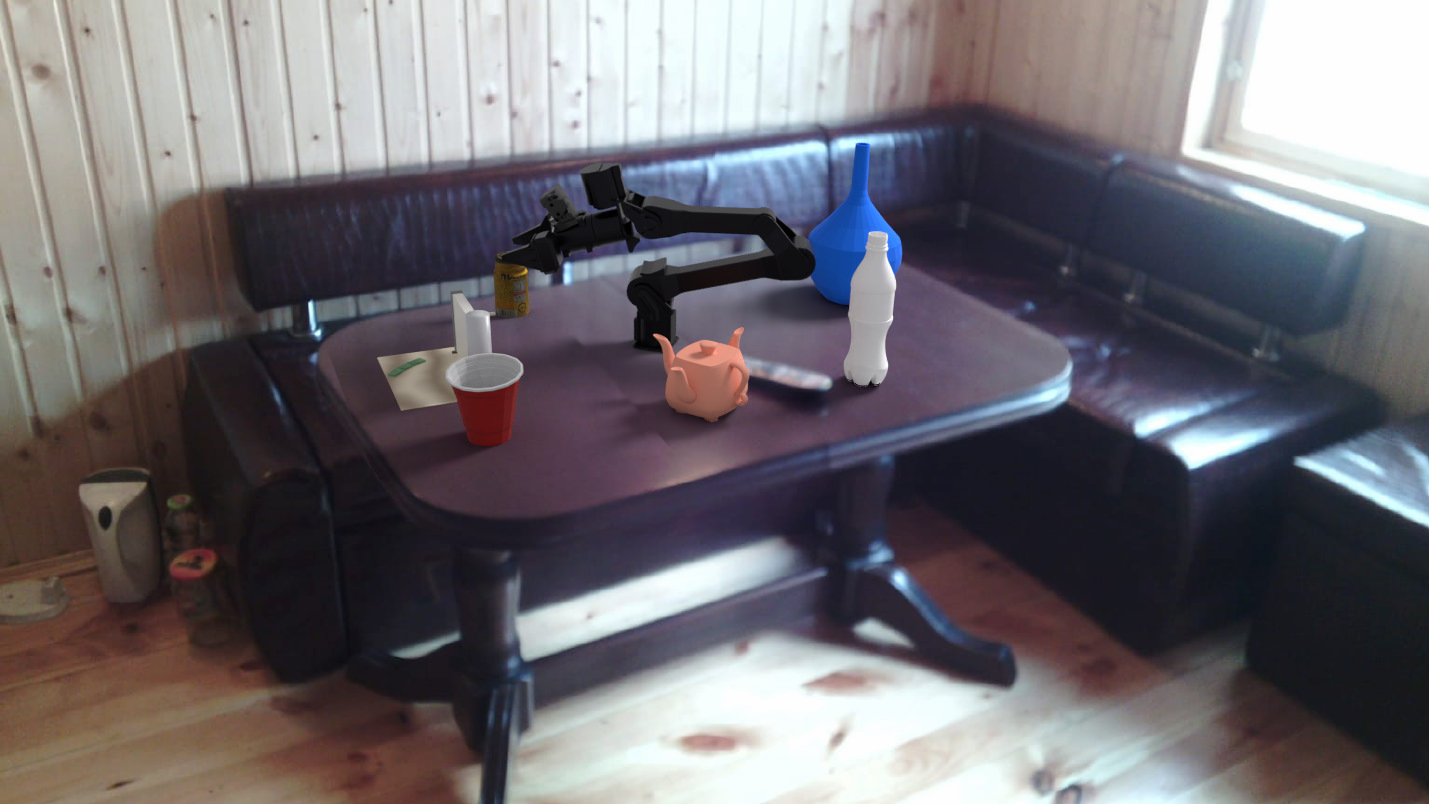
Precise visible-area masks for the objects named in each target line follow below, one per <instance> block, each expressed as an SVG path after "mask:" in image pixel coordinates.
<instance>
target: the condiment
mask: <svg viewBox="0 0 1429 804" xmlns="http://www.w3.org/2000/svg"><path fill="white" fill-rule="evenodd" d="M510 251H511V250H510ZM510 251H503V252H499V253H497V254H496V255H495V257H494V262H495V263H494V264H495V265H494V266H495V268H494V270H493V288H494V289H493V290H494V307H495V308H494V309H495V311H491V312H489V314H490V317H493V316H498V317H501V318H504V319H517V318H521V317H522V318H523V317H525V316H527V315H528V314H529V312H530V296H529V271H528V269H527V267H524V266H520V265H516V264H511V263H507V262H503V261H502V258H501V255H503V254H505V253H507V252H510Z"/></svg>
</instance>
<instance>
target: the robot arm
mask: <svg viewBox="0 0 1429 804" xmlns="http://www.w3.org/2000/svg"><path fill="white" fill-rule="evenodd" d="M578 173H579V176H580V179H581V182H582V186H583V190H584V193H585V196H586V200H587V203H588V205H589V206H592V207H593V209H596V211H595V212H591V213H589V211H588V210H586V209H583V210H578V209H577V207H576V206H575V205H574V203H573V201H572V200H571V198H570V196H569V195H568V194H567V192H566V191H565V189H564V188H563V187H562V186H561V185H560V184H556V185H555V186H553V187H552V188H550V189H548V190H547V191H545V192H544V193H542V195H541V197H540V198H539V202H540V204H541V206H542V208H543V209H545V210H546V211H547V213H546V214H545V216H544V218H543V220H542V221H541V222H540V223H538V224H537V225H535V226H533V227H531V228H529V229H527V230H524V232H521V233H519V234H517V235H516V236H513V237H512V238H511V240H512V244H513V245H517V246H520V247H517V248H515V249H511V250H510V252H507V251H506V252H507V253H505V254H503V255H501V258H502V261H503V262H507V263H511V264H516V265H520V266H524V267H525V268H529V269H533V270H536V271H539V272H540V273H543V274H544V275H545V276H547V275H548V276H549V275H552V274H556V273H557V272H558V271H559V269H560V267H561V265H562V263H563V261H564V259H567V258H570V257H571V255H572V254H573V253H574V254H575V253H578V252H582V251H586V253H587V254H589V253H593V252H594V251H595V249H597V248H601V247H605V246H610V245H614V244H619V243H624V242H625V244H626V246H627V251H628V252H629V254H631V253H633V252H634V250H635V249H636V246H637V245H639V243H641V242H642V241H641V240H642V238H644V239H647V240H657V239H659V240H660V239H665V238H666V239H667V238H672V237H675V236H679V235H683V234H688V233H696V234H697V233H698V234H699V233H700V234H702V233H703V234H721V235H723V234H724V235H745V236H747V235H748V236H749V235H750V236H751V235H752V236H753V235H754V236H758V237H759V238H760V239H761V240H762V241H763V242H764V244H765V245H766V248H763V249H762V250H760V251H756V252H750V253H745V254H739V255H734V256H729V257H724V258H719V259H713V260H707V261H702V262H698V263H693V264H687V265H681V266H677V265H676V266H675V265H670V264H668V258H667V257H661V258H659V259H655V260H643V262H642V264H640V265H638V266H636V267H635V268H634V269H633V271H632V272H631V274H630V276H629V280H628V284H627V287H626V296H627V300H628V301H629V303H631V304H632V305H633V306H635V307H636V309H637V310H636V316H635V317H634V318H633V340H634V343H633V345H632V347H633V348H635V349H640V350H641V349H642V350H648V351H654V352H655V351H656V352H662V353H663V350H662V346H661V344H660V342H659V341H658V340H657V339H656V338H655V337H654V336H653V334H659V335H662V336H664V337H665V338H667V339H668V341H669V342H670V344H671V346H672V348H673V347H674V346H675V345H676V344H677V343H678V341H679V340H680V337H679V336H678V335H677V309H676V308H673V307H674V306H673V305H674V301H675V298H676V297H678V296H679V295H681V294H684V293H689V292H695V291H700V290H704V289H712V288H716V287H721V286H728V285H733V284H736V283H737V284H739V283H744V282H749V281H754V280H755V281H756V280H760V279H768V280H774V281H780V282H782V281H783V282H789V281H790V282H792V281H793V282H795V281H799V282H800V281H803V280H806V279H808V278H811V276H810V275H811V274H812V273H813V271H814V269H815V266H816V259H815V251H814V247H813V244H812V243H811V242H810V241H809V240H808V238H806V237H805V236H803V235H798V234H797V233H796V232H795V231H794V230H793V229H792V227H790V226H789V225H788V224H787V223H785V221H783V220H782V219H780V217H778V215H776V214H775V212H774V211H773V209H771V208H769V207H765V206H761V207H739V206H738V207H733V206H710V205H709V206H707V205H706V206H705V205H704V206H703V205H691V204H686V203H683V202H681V201H677V200H675V199H671V198H666V197H662V196H656V195H651V196H646V195H643V194H641V193H639V192H637V191H634V190H632V189H629V188H627V187H626V183H625V181H624V180H625V179H624V176H623V168H622V164H621V162H614V163H613V162H604V163H603V161H602V162H597V163H593V164H591V165H588V166H585V167H583V168H581V169H580V170H579V172H578Z"/></svg>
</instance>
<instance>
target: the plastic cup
mask: <svg viewBox="0 0 1429 804" xmlns="http://www.w3.org/2000/svg"><path fill="white" fill-rule="evenodd" d="M523 375H524V364H523V363H522V362H521V361H520V360H519V359H518V358H517V357H514V356H511V355H508V354H505V353H495V352H492V353H485V354H476V355H472V356H468V357H465V358H462V359H460V360H458V361H456V362H454V363H452V364H451V366H450V367H449V368H448V369H447V370H446V380H447V381H448V382H449V383H450V384H451V386H452V389H453V391H454V394H455V395H456V399H457V402H456V403H457V405H458V409H459V413H460V418H461V420H462V425H463V427H464V429H465V433H466V436H467V440H468V441H469V442H470V443H471V444H473V445H476V446H481V447H495V446H499V445H503V444H505V443H507V442H509V440H510V439H511V438H512V434H513V425H514V422H515V414H516V407H517V406H516V405H517V397H518V391H519V385H520V380H521V377H522V376H523Z"/></svg>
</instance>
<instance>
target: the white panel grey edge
mask: <svg viewBox="0 0 1429 804" xmlns="http://www.w3.org/2000/svg"><path fill="white" fill-rule="evenodd" d="M449 292H450V305H451V306H450V307H451V318H452V319H451V320H452V332H453V333H452V335H453V345H454V346H453V347H454V348H455V351H456V352H457V353H458V354H459V356H460V358H461V359H462V358H465V357H468V356H472V355H476V354H485V353H493V351H492V350H493V349H492V335H491V334H492V333H491V316H490V314H489V313H490V312H489V311H487V310H482V309H474V308H473V306H472V305H471V303H470V301H468V299H467V298H466V296H465V294H463V293H464V292H463V290H460V289H459V290H453V291H452V290H450V291H449Z"/></svg>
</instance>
